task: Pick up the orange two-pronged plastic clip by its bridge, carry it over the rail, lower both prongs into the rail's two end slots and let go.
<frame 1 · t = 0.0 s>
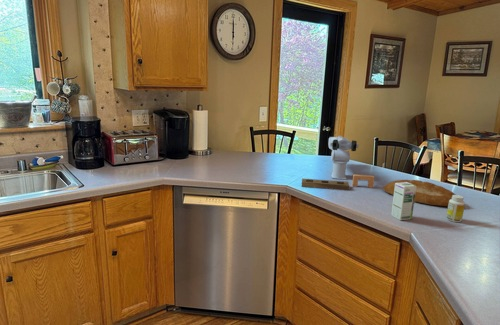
hand: (346, 146, 170), 22 cm above the countertop, tool horizontal, fingers open, 7 cm apart
rail: (324, 186, 176), on the countertop
supplement bottle: (453, 220, 137), on the countertop
syrup box: (401, 217, 138), on the countertop
bread: (420, 199, 162), on the countertop
clip: (362, 186, 178), on the countertop
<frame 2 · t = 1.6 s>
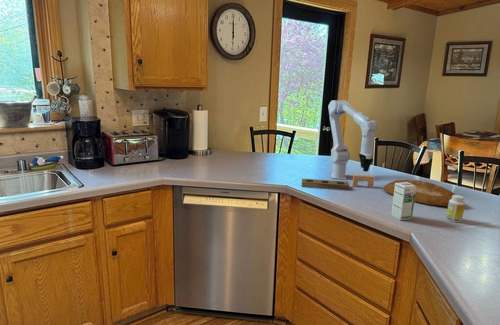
hand: (364, 169, 176), 9 cm above the countertop, tool pointing down, fingers open, 7 cm apart
nothing on the countertop moved.
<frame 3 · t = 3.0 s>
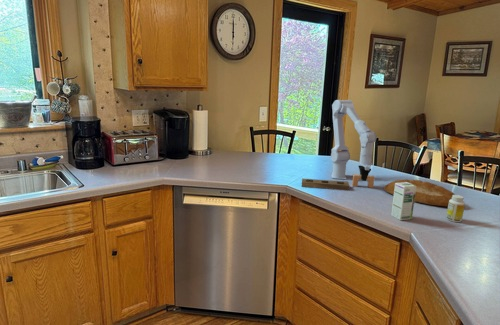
hand: (363, 179, 177), 4 cm above the countertop, tool pointing down, fingers closed on clip, 2 cm apart
clip: (362, 186, 178), on the countertop, touching gripper
everything else where it was.
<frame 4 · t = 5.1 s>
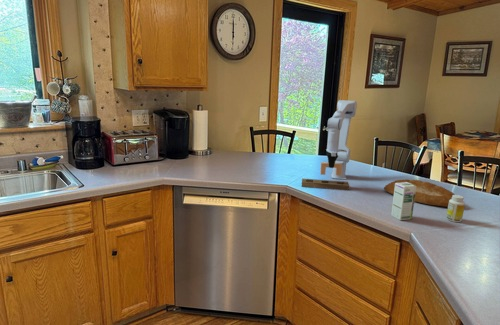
hand: (331, 167, 174), 10 cm above the countertop, tool pointing down, fingers closed on clip, 2 cm apart
clip: (330, 174, 175), point 6 cm above the countertop, touching gripper
everything else where it was.
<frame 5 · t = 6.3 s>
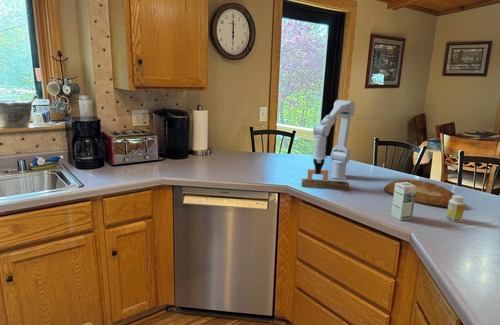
hand: (317, 173, 175), 7 cm above the countertop, tool pointing down, fingers closed on clip, 2 cm apart
clip: (317, 181, 176), point 3 cm above the countertop, touching gripper
everything else where it was.
when the fingers open (5 cm above the countertop, at t = 7.3 s): clip stays where it is, resting in rail.
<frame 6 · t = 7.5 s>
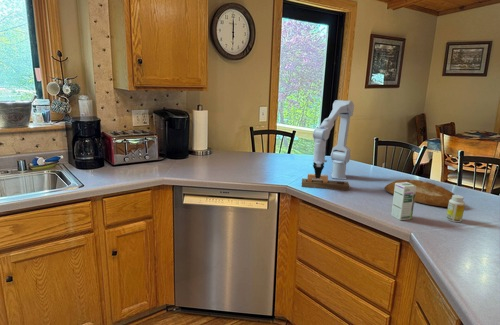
hand: (317, 177, 175), 5 cm above the countertop, tool pointing down, fingers open, 4 cm apart
clip: (317, 185, 176), resting in rail
everything else where it was.
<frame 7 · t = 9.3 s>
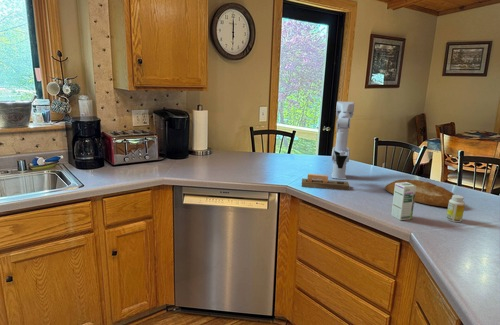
hand: (339, 166, 176), 10 cm above the countertop, tool pointing down, fingers open, 7 cm apart
nothing on the countertop moved.
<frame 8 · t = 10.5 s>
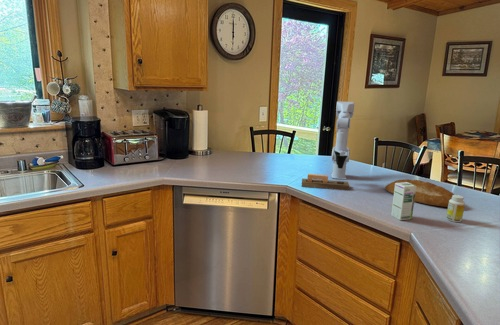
hand: (339, 166, 176), 10 cm above the countertop, tool pointing down, fingers open, 7 cm apart
nothing on the countertop moved.
at the end: clip 0.0 cm from the target spot on the rail, point 0.0 cm above the rail's base; clip tilted 0°; the gripper is holding nothing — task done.
